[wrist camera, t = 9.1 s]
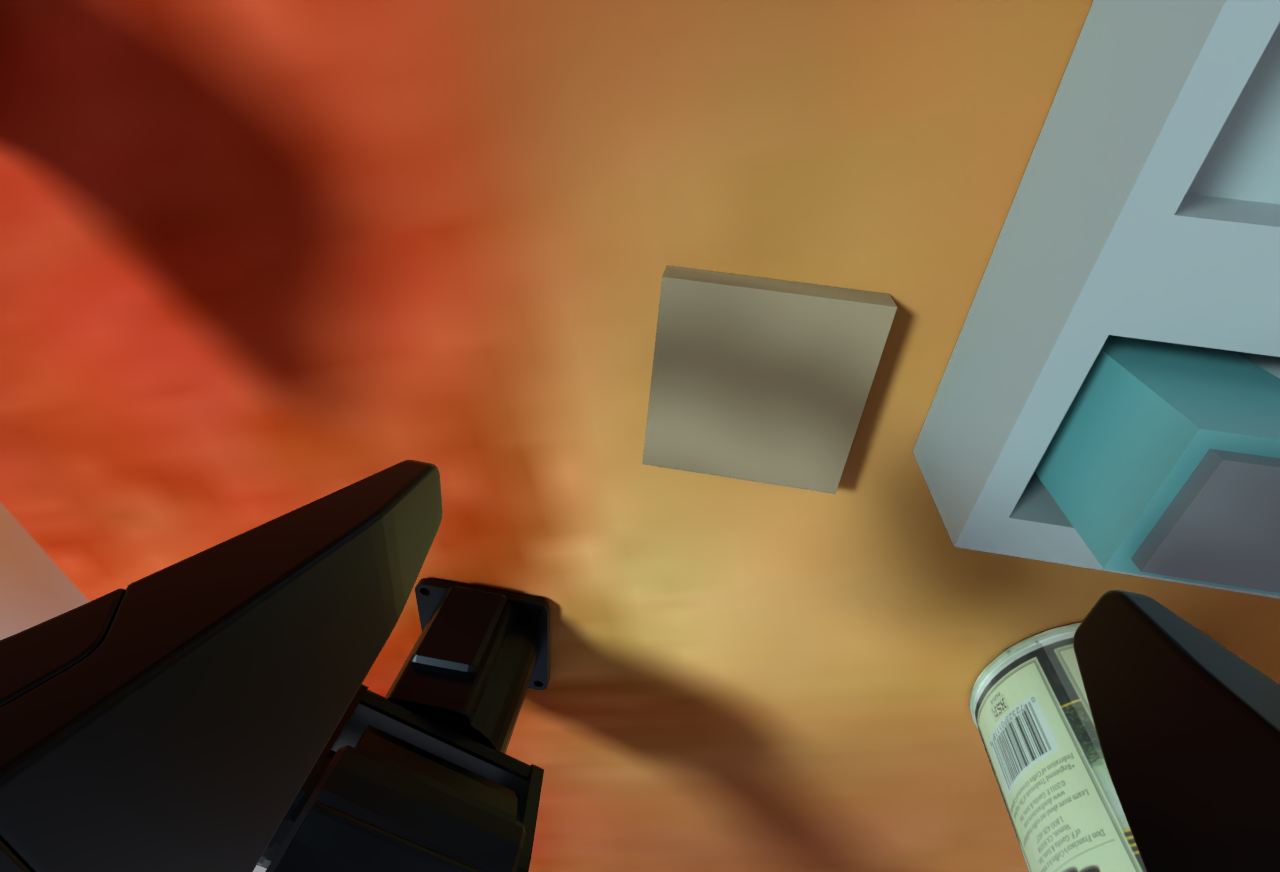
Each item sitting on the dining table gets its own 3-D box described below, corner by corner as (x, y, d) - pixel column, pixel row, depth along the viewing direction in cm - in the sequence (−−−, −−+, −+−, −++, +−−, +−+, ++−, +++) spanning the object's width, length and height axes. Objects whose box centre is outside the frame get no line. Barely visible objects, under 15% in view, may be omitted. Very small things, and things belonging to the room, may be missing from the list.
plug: (1123, 440, 19) (1295, 610, 13) (999, 422, 19) (1112, 581, 13) (1193, 327, 17) (1433, 469, 11) (1052, 310, 17) (1213, 439, 11)
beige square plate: (831, 474, 22) (835, 494, 21) (647, 446, 23) (642, 464, 22) (889, 294, 19) (897, 307, 18) (666, 265, 19) (662, 276, 18)
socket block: (1178, 491, 21) (1298, 608, 16) (912, 451, 21) (957, 554, 17) (1632, -137, 12) (2156, -255, 8) (1160, -168, 13) (1384, -291, 8)
